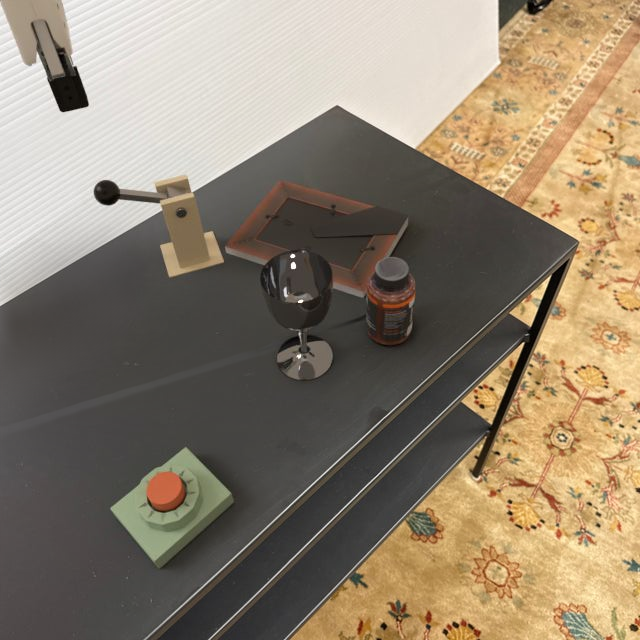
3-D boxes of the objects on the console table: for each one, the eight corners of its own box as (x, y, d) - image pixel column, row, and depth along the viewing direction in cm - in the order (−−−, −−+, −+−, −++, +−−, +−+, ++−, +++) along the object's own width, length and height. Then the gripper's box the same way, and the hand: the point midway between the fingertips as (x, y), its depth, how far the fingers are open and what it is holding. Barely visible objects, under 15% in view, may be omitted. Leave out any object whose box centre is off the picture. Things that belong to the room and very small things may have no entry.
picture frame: (407, 227, 96) (281, 191, 103) (408, 214, 94) (279, 178, 101) (362, 303, 87) (227, 257, 94) (363, 290, 85) (224, 245, 92)
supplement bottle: (421, 333, 83) (428, 272, 75) (384, 355, 81) (388, 294, 73) (392, 305, 87) (396, 243, 78) (356, 325, 85) (356, 264, 76)
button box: (159, 569, 65) (149, 555, 62) (115, 516, 69) (104, 500, 66) (234, 502, 70) (229, 485, 67) (189, 455, 74) (182, 438, 70)
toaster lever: (93, 209, 80) (97, 188, 79) (90, 194, 82) (94, 173, 80) (187, 217, 86) (192, 198, 84) (182, 203, 88) (187, 184, 86)
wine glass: (277, 387, 79) (263, 307, 67) (270, 337, 84) (256, 255, 73) (341, 377, 80) (338, 296, 68) (330, 328, 85) (326, 245, 73)
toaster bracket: (171, 282, 91) (148, 213, 81) (161, 250, 96) (139, 181, 86) (225, 267, 93) (209, 197, 83) (214, 236, 97) (197, 166, 87)
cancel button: (164, 518, 65) (159, 511, 64) (143, 495, 67) (139, 487, 65) (192, 494, 67) (188, 487, 65) (171, 472, 68) (167, 464, 67)
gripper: (-38, -97, 62) (35, 81, 76) (-39, -39, 53) (45, 151, 67) (41, -110, 63) (99, 67, 77) (55, -55, 54) (117, 134, 68)
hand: (74, 105), depth 72 cm, fingers closed
